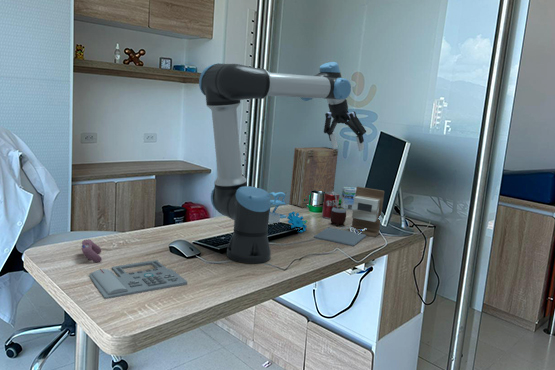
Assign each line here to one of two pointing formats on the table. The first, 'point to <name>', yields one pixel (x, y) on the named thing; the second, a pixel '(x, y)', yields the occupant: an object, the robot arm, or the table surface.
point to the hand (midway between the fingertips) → (348, 148)
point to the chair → (277, 201)
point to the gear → (296, 221)
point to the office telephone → (135, 279)
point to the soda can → (329, 204)
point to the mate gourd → (338, 214)
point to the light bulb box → (348, 197)
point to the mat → (340, 236)
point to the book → (312, 173)
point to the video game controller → (91, 250)
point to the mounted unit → (367, 210)
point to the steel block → (273, 218)
